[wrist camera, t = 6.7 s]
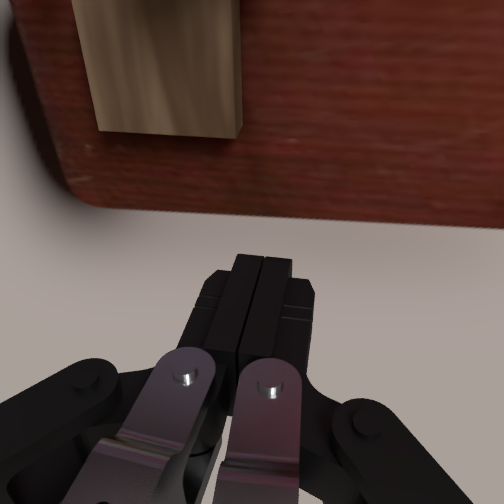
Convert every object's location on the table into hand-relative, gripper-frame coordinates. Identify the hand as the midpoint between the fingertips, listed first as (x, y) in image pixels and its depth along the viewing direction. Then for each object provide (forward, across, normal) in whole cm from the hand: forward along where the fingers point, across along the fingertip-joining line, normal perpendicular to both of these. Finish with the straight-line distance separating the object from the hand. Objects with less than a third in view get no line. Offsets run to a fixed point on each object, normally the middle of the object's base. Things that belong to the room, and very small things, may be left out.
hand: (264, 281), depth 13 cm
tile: (+21, +5, 0) cm, 22 cm away
